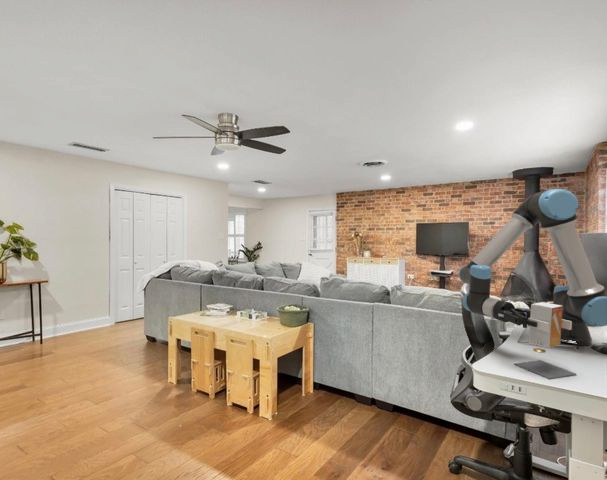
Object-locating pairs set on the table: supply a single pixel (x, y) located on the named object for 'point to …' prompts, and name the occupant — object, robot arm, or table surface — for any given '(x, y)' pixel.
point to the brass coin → (539, 350)
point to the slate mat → (545, 369)
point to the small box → (549, 315)
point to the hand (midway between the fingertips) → (559, 326)
